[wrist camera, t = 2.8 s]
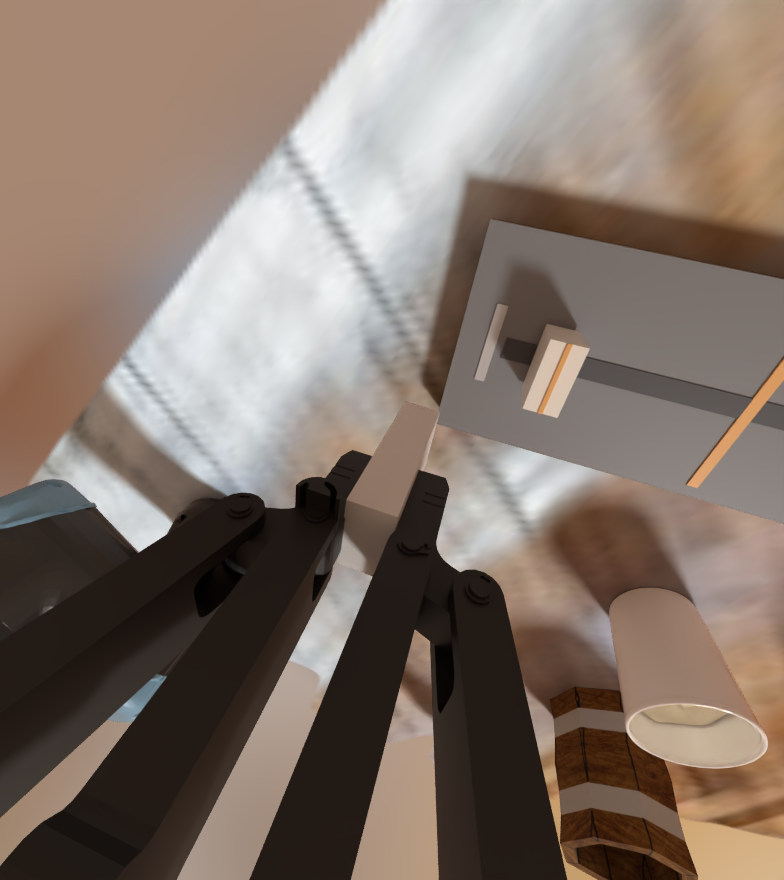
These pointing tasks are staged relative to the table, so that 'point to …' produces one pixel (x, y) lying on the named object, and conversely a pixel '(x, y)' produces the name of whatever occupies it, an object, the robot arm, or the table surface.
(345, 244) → the table surface
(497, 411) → the panel
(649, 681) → the candle holder
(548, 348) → the fader
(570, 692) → the mug
